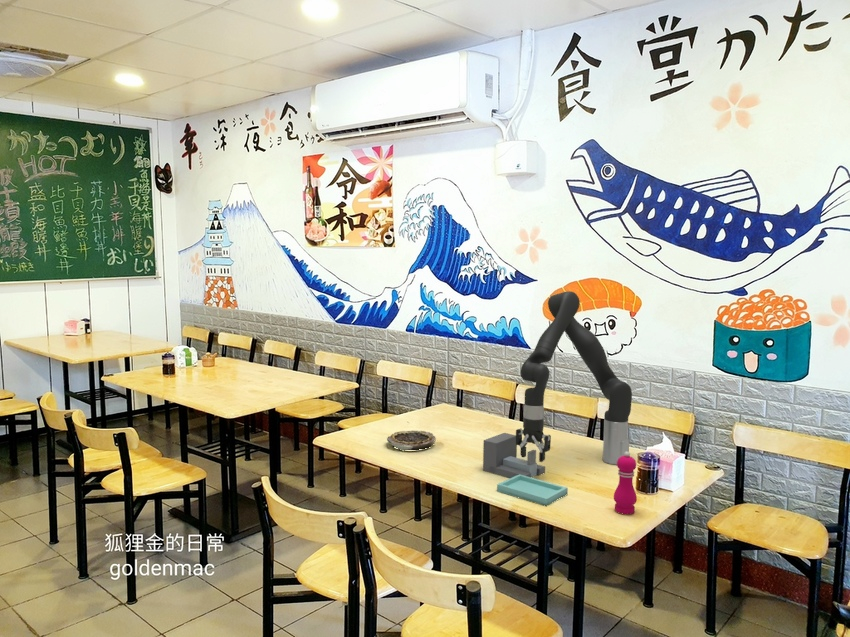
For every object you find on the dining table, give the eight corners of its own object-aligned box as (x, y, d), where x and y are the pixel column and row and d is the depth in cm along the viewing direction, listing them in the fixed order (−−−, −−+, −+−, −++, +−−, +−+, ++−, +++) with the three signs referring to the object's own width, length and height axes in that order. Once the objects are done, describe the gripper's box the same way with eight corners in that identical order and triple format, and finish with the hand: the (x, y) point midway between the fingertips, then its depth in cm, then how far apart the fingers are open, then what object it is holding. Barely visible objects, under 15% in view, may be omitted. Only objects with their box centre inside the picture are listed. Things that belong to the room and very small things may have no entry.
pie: (455, 450, 280) (455, 438, 279) (399, 461, 265) (399, 449, 265) (420, 434, 303) (420, 423, 303) (368, 443, 289) (367, 432, 288)
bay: (545, 472, 251) (545, 442, 250) (524, 482, 240) (525, 450, 239) (503, 461, 263) (504, 432, 262) (483, 470, 253) (483, 440, 252)
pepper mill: (608, 510, 215) (611, 451, 213) (620, 504, 220) (622, 446, 218) (629, 517, 210) (631, 456, 208) (640, 511, 215) (642, 451, 213)
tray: (567, 494, 229) (567, 487, 229) (546, 506, 218) (546, 498, 218) (519, 480, 242) (519, 474, 242) (497, 491, 232) (497, 484, 231)
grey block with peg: (536, 475, 248) (537, 450, 247) (529, 479, 244) (530, 453, 243) (510, 468, 256) (510, 443, 255) (502, 471, 252) (503, 446, 251)
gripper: (555, 417, 242) (554, 461, 244) (522, 411, 252) (521, 452, 253) (545, 421, 237) (543, 466, 238) (511, 414, 246) (510, 457, 248)
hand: (532, 459), depth 246 cm, fingers open, 7 cm apart
